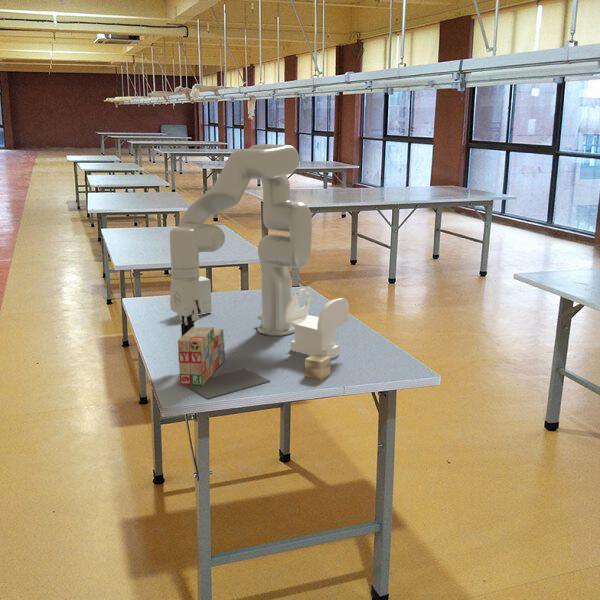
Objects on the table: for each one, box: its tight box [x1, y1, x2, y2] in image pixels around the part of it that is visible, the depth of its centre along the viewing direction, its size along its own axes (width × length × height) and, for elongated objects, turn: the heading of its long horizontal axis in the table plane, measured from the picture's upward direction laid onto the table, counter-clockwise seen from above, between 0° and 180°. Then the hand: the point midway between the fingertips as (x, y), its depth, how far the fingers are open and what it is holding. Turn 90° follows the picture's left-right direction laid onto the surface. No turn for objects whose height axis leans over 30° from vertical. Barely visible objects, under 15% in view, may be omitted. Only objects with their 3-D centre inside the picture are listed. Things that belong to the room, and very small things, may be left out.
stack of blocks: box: [177, 326, 226, 386], centre depth 186 cm, size 21×6×12 cm, turn 171°
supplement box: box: [199, 275, 213, 314], centre depth 244 cm, size 7×7×13 cm
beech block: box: [304, 354, 331, 380], centre depth 184 cm, size 5×5×5 cm
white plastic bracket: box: [284, 288, 350, 360], centre depth 201 cm, size 14×13×18 cm
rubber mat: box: [183, 368, 271, 400], centre depth 179 cm, size 12×19×1 cm, turn 129°
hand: (188, 337), depth 191 cm, fingers closed
